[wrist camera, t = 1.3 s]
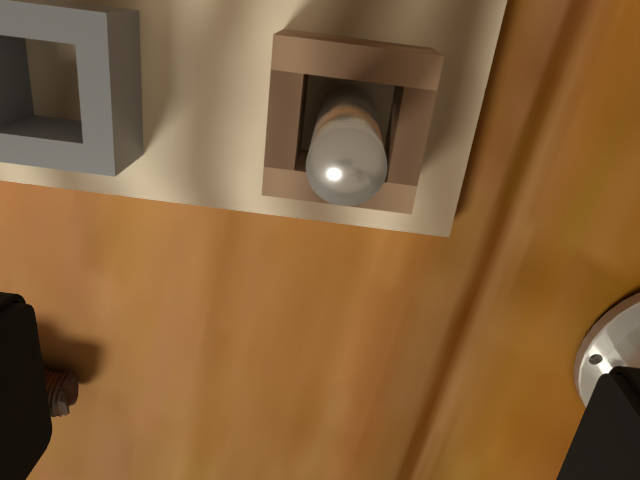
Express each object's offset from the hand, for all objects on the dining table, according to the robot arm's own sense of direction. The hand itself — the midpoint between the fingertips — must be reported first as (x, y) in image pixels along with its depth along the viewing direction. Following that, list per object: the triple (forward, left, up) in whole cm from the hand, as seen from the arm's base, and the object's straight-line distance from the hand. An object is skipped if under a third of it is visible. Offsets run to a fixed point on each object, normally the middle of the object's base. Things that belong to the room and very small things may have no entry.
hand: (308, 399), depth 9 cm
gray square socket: (+15, 0, -22) cm, 26 cm away
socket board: (+7, 0, -23) cm, 24 cm away
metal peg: (0, 0, -22) cm, 22 cm away
